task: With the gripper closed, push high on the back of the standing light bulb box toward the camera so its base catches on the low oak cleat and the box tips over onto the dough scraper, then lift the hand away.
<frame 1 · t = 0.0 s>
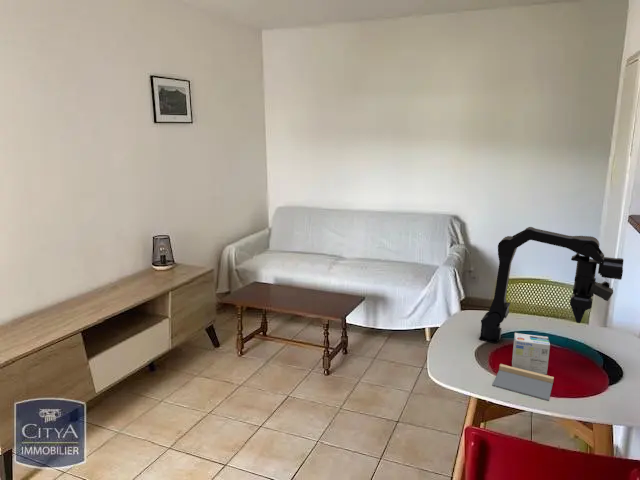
hand: (579, 318, 161), 15 cm above the table, tool pointing down, fingers open, 9 cm apart
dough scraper: (522, 384, 147), on the table
light bulb box: (528, 368, 157), on the table
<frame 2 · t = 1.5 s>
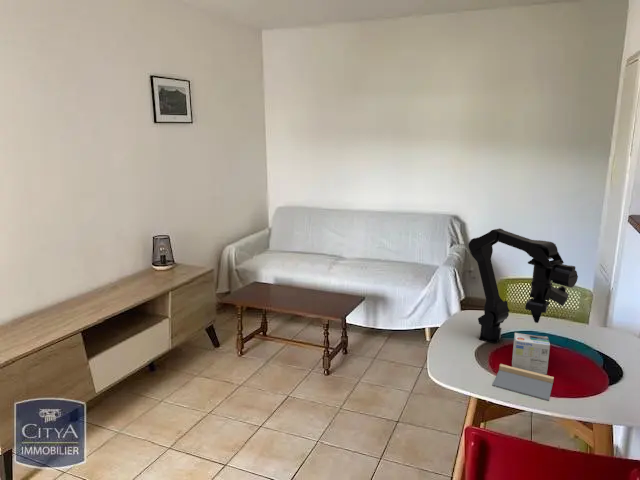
hand: (536, 322, 162), 13 cm above the table, tool pointing down, fingers closed
nothing on the table moved.
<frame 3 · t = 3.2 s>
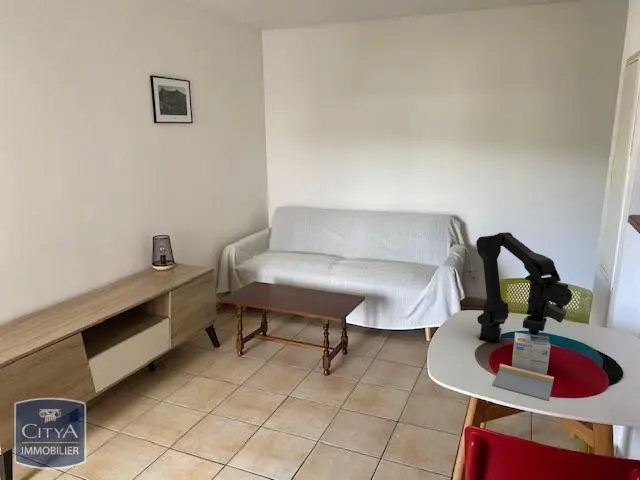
hand: (534, 339, 158), 9 cm above the table, tool pointing down, fingers closed
light bulb box: (528, 367, 157), on the table, touching gripper
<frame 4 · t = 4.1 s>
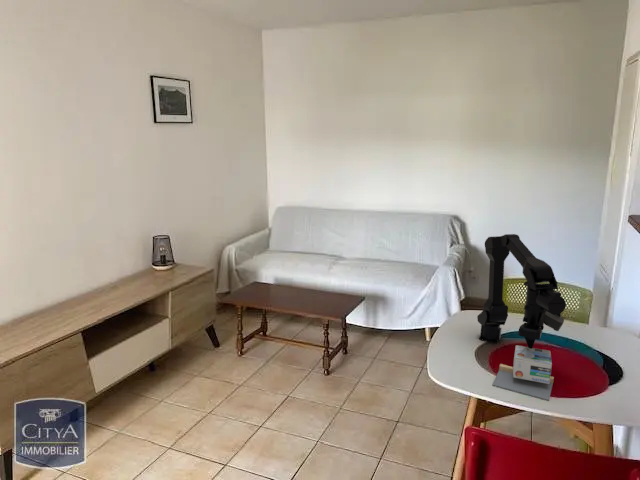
hand: (530, 348, 153), 8 cm above the table, tool pointing down, fingers closed, pressing on light bulb box
light bulb box: (531, 356, 154), point 5 cm above the table, touching gripper, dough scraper
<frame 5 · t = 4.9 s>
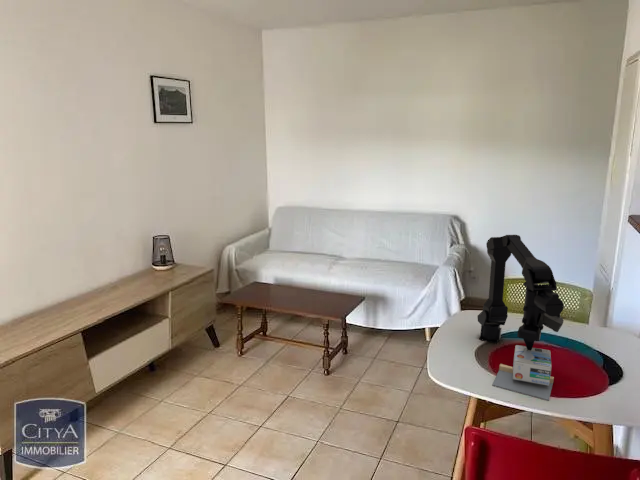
hand: (529, 348, 152), 9 cm above the table, tool pointing down, fingers closed, pressing on light bulb box
light bulb box: (531, 356, 154), point 5 cm above the table, touching gripper, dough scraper
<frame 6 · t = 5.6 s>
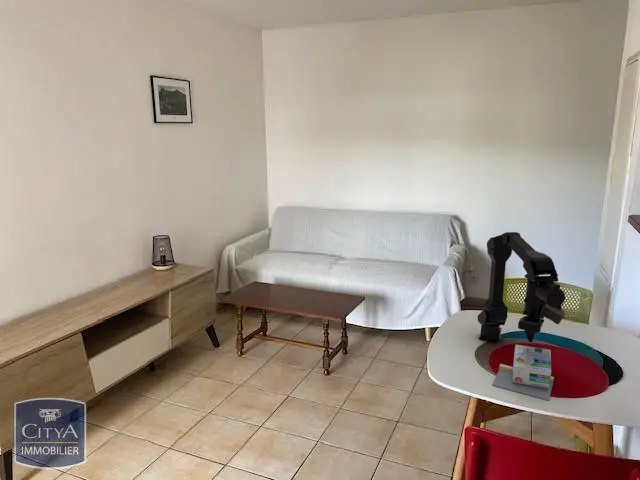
hand: (530, 341, 150), 12 cm above the table, tool pointing down, fingers closed
light bulb box: (531, 354, 153), point 6 cm above the table, touching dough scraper
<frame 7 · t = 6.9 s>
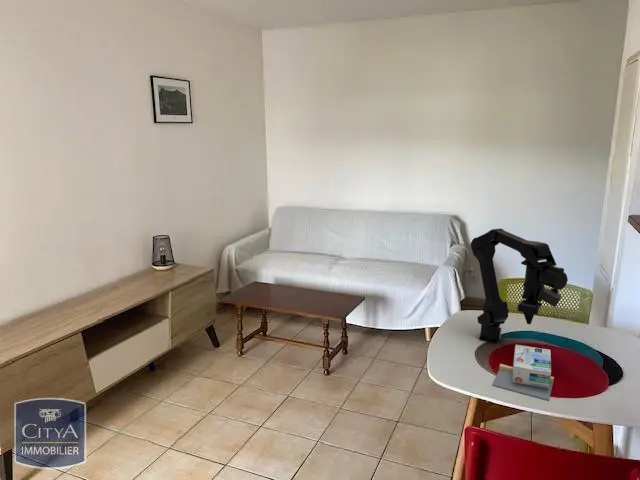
hand: (529, 323, 160), 13 cm above the table, tool pointing down, fingers closed
nothing on the table moved.
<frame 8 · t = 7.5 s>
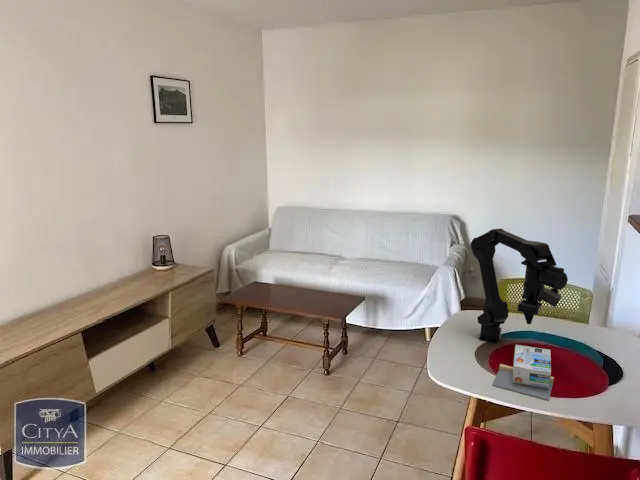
hand: (529, 323, 160), 13 cm above the table, tool pointing down, fingers closed
nothing on the table moved.
at the end: light bulb box tilted 105°; light bulb box touching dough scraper; light bulb box inside the target area (2.9 cm from its centre), point 6.5 cm above the table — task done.
